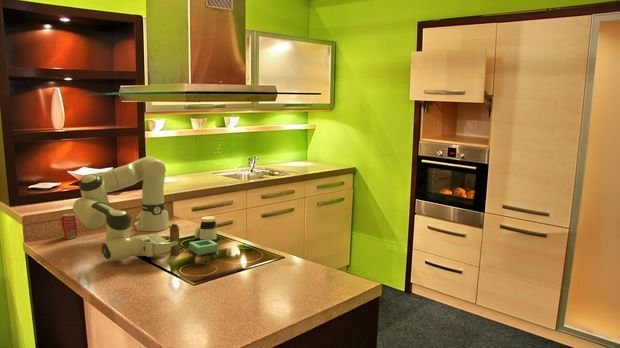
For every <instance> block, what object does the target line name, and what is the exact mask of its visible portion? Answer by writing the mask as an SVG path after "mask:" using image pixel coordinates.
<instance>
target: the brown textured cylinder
mask: <svg viewBox="0 0 620 348" xmlns="http://www.w3.org/2000/svg"><path fill="white" fill-rule="evenodd" d="M169 236H170V240H169V242H172V241H175V240H176V241H178V245H174V246H172V247H171V250H170V255H171V256H172V255H173V256H174V257H175V256H176V255H177V256H179V254H180V255H181V248H180V245H181V244H180V226H179V225H178V224H177V223H171V226H170V227H169Z"/></svg>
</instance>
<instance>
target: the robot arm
mask: <svg viewBox="0 0 620 348" xmlns="http://www.w3.org/2000/svg"><path fill="white" fill-rule="evenodd" d="M166 172H167V169H166V165H165V164H164V162H163V161H162V160H161V159H159V158H156V157H154V156H150V155H148V156H145V157H142V158H139V159H137V160H135V161H132V162H129V163H127V164H125V165H122V166H119V167H115V168H112V169H109V170H107V171H104V172H101V173H100V174H87V175H84V176H83V177H81V178H80V180H79V181H78V187H79V191H80V194H81V197H79V198H78V199H76V200H75V201H74V202H73V205H72V211H73V213H74V214H75V216H76V218H77V220H79V221H80V223H82V224H83V225H84V226H85V227H86V228H89V229H96V228H99V227H101V226H103V225H104V223H106V231H105V232H106V234H105V235H106V236H105V241H103V243H102V244H101V252H102V255H103V257H104V258H105V260H110V261H111V260H114V261H115V260H123V259H124V260H125V259H128V258H131V257H143V256H145V257H147V258H149V257H153V256H154V255H161V254H164V253H169V252H171V247H172V246H174V245H178V241H176V240H175V241H172V242H170V235H159V234H157V233H148V234H140V235H133V236H131V235H130V233H131V222H132V216H131V215H130V213H128V212H127V211H125V210H123V209H119V208H116V207H115V206H113V205H111V204H110V201H109V196H108V193H112V192H115V191H119V190H122V189H125V188H128V187H131V186H134V185H136V184H137V183H139V182H141V181H142V189H141V192H142V193H141V195H142V198H141V199H142V202H141V211H140V212H139V213H138V216H135V220H136V222H134V227H135V229H136V231H138V232H141V231H142V232H160V231H163V230H167V229H169V228H170V226H172V223H170V222H169V220H170V219H169V212H168V211H167V210H166V202H165V198H164V197H165V195H164V188H165V179H166V178H165V177H166Z"/></svg>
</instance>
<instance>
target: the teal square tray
mask: <svg viewBox="0 0 620 348" xmlns="http://www.w3.org/2000/svg"><path fill="white" fill-rule="evenodd" d="M188 243H189V245H188V247H189V249H188V250H189V251H191V252H192V251H193V252H192V253H194V254H196V255H197V256H200V255H206V254H211V253H217V252H219V243H217V242H216V241H212V240H210V239H206V240H201V239H200V240H196V241H189V242H188Z"/></svg>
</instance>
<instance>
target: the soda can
mask: <svg viewBox="0 0 620 348" xmlns="http://www.w3.org/2000/svg"><path fill="white" fill-rule="evenodd" d="M60 219H61V220H60V223H61V224H60V225H61V235H62V238H64V239H66V240H71V239H72V240H73V239H74V238H75V239H76V238H77V237H78V233H79V231H78V221H77V220H78V218H77V216H76V215H75V213H74V212H73V213H71V212H70V213H64V214H62V215H61V218H60Z"/></svg>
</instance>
